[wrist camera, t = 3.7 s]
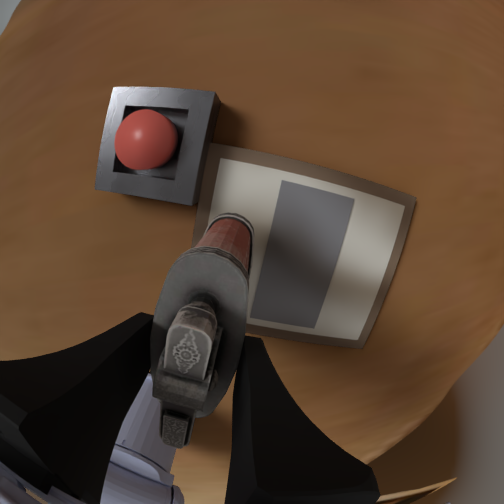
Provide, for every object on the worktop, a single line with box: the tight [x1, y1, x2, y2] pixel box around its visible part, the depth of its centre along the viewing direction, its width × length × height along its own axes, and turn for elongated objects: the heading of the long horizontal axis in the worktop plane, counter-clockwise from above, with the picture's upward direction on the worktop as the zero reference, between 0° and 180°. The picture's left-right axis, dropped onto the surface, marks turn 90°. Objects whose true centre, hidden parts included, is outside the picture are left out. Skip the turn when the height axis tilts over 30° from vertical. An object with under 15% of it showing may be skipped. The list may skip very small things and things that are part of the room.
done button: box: [114, 109, 178, 170], centre depth 14 cm, size 4×4×2 cm
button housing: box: [95, 87, 221, 206], centre depth 16 cm, size 7×7×2 cm
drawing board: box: [191, 143, 416, 349], centre depth 19 cm, size 13×15×1 cm
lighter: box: [150, 212, 254, 448], centre depth 12 cm, size 8×3×10 cm, turn 165°
